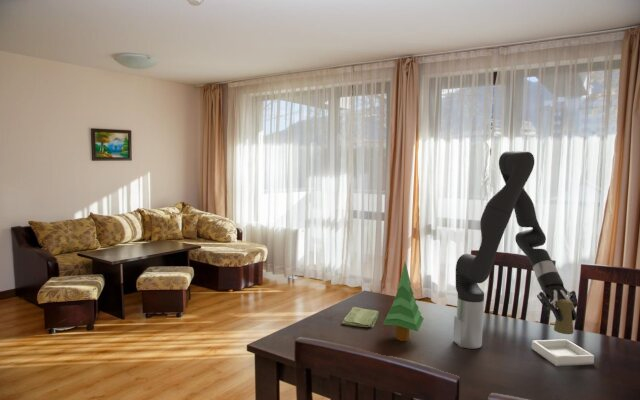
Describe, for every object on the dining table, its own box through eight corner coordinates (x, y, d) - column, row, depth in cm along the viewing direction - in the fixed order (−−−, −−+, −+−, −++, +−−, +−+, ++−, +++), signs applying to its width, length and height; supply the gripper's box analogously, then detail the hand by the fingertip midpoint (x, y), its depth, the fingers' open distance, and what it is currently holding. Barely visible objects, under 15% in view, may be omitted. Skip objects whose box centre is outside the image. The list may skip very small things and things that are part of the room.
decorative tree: (378, 342, 164) (380, 262, 161) (392, 328, 178) (394, 254, 175) (414, 350, 158) (417, 267, 155) (425, 335, 171) (428, 259, 169)
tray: (556, 366, 147) (556, 357, 147) (531, 348, 160) (532, 340, 160) (593, 364, 149) (594, 355, 148) (566, 347, 162) (566, 339, 162)
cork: (576, 334, 150) (578, 303, 149) (556, 333, 151) (558, 302, 150) (570, 328, 156) (571, 297, 155) (551, 326, 157) (553, 296, 156)
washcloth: (340, 326, 180) (340, 318, 180) (351, 312, 197) (352, 305, 196) (372, 330, 176) (372, 323, 176) (381, 316, 193) (381, 309, 192)
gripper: (534, 271, 158) (554, 316, 148) (571, 270, 160) (593, 314, 149) (524, 281, 164) (543, 325, 153) (560, 280, 166) (581, 323, 155)
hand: (567, 319), depth 151 cm, fingers closed on cork, 4 cm apart
